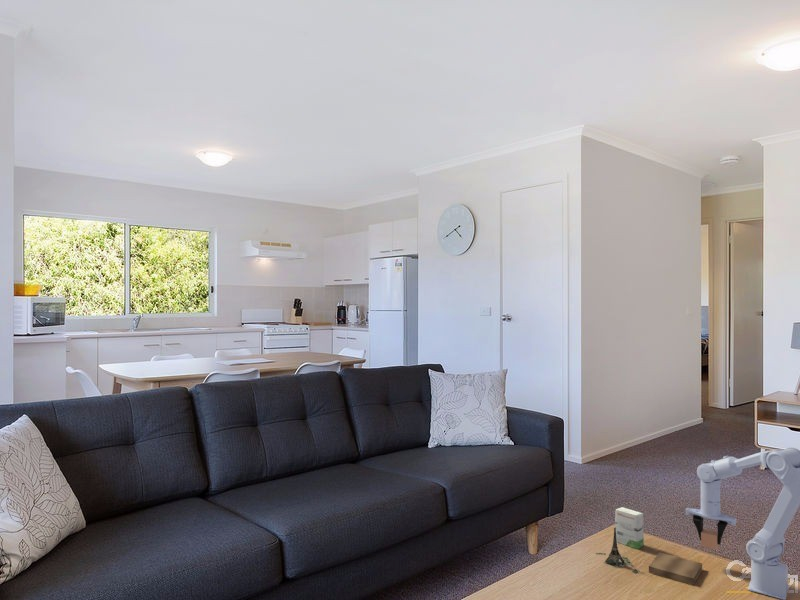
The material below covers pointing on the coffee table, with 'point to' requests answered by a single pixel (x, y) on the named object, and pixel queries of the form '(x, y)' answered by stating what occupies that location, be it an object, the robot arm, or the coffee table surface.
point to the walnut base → (675, 568)
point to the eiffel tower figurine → (617, 556)
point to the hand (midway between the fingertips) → (710, 541)
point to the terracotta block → (709, 539)
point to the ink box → (629, 527)
